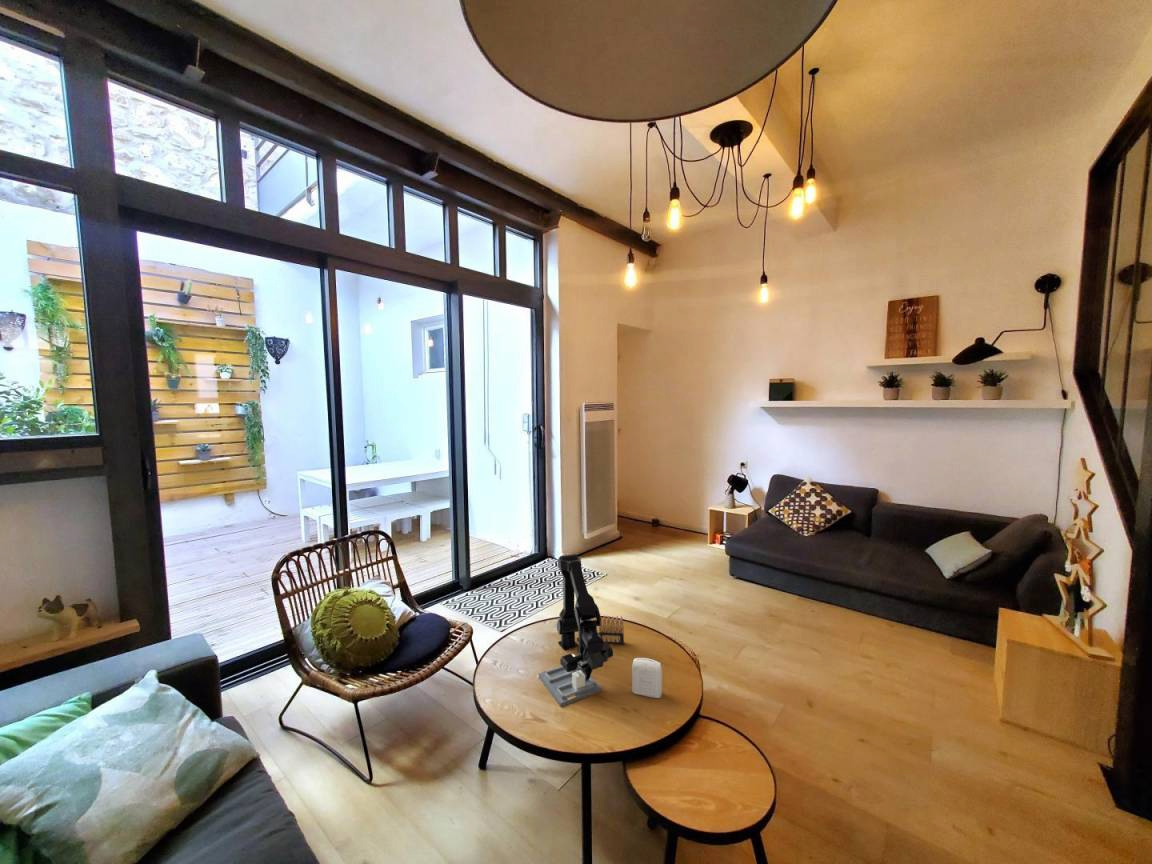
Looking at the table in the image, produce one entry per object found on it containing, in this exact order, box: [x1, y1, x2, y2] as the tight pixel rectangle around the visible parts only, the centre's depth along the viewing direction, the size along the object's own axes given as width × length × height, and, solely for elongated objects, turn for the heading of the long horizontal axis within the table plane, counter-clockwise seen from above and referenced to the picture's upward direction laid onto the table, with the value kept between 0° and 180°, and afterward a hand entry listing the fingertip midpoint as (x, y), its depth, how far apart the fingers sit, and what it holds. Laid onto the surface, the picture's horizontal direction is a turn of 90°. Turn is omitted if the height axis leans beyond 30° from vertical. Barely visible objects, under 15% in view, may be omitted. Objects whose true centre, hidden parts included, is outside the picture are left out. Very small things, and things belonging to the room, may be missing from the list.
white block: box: [572, 670, 585, 690], centre depth 155 cm, size 3×4×5 cm
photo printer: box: [631, 657, 663, 699], centre depth 153 cm, size 10×4×12 cm, turn 73°
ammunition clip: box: [597, 615, 625, 646], centre depth 184 cm, size 11×2×12 cm, turn 84°
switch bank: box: [538, 665, 602, 707], centre depth 159 cm, size 18×16×2 cm
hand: (587, 679), depth 157 cm, fingers closed
